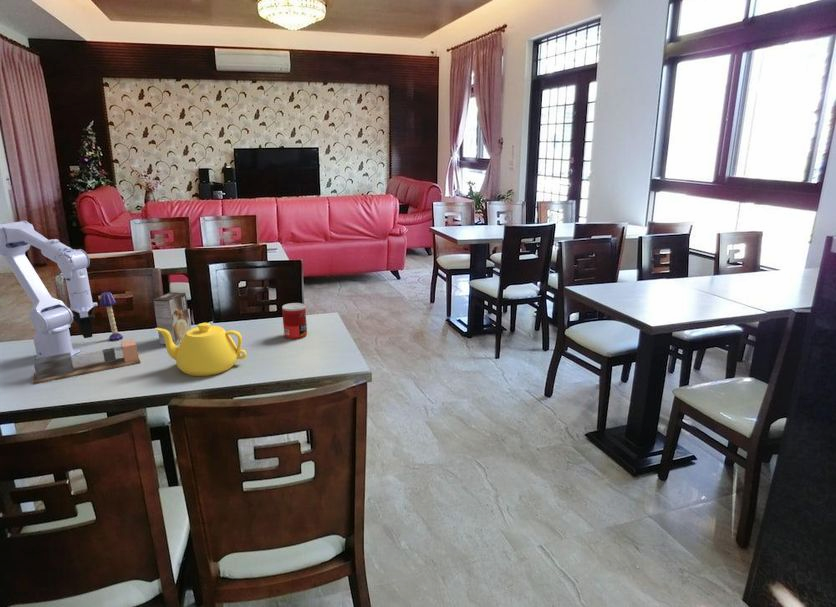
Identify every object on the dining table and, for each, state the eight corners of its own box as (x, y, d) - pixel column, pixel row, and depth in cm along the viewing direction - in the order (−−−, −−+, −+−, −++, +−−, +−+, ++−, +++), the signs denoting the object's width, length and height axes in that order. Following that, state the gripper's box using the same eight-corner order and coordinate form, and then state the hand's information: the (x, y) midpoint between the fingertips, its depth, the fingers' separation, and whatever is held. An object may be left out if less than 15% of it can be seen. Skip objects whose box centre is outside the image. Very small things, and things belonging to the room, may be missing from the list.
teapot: (153, 381, 155) (145, 337, 151) (169, 358, 172) (163, 317, 168) (243, 375, 159) (238, 331, 155) (251, 353, 176) (247, 312, 172)
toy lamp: (112, 342, 185) (103, 295, 180) (104, 340, 187) (95, 293, 183) (125, 338, 189) (117, 292, 184) (117, 335, 191) (109, 290, 187)
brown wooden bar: (33, 384, 154) (29, 366, 152) (34, 374, 160) (30, 357, 159) (140, 363, 168) (137, 346, 166) (137, 354, 174) (134, 339, 173)
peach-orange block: (125, 362, 167) (122, 347, 165) (123, 357, 171) (120, 341, 170) (138, 360, 169) (136, 344, 167) (136, 354, 173) (134, 339, 172)
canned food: (304, 339, 187) (302, 309, 184) (281, 339, 187) (279, 309, 184) (309, 332, 194) (307, 302, 191) (287, 332, 194) (284, 302, 191)
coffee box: (176, 335, 192) (169, 291, 187) (192, 336, 190) (186, 292, 186) (159, 344, 183) (152, 299, 178) (176, 345, 182) (169, 300, 177)
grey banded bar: (62, 369, 159) (60, 360, 158) (61, 366, 161) (60, 357, 160) (134, 356, 169) (132, 347, 168) (132, 353, 171) (131, 344, 170)
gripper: (96, 294, 158) (104, 338, 162) (93, 283, 170) (100, 324, 174) (67, 298, 155) (76, 342, 159) (66, 287, 166) (75, 328, 170)
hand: (87, 333), depth 166 cm, fingers open, 7 cm apart
